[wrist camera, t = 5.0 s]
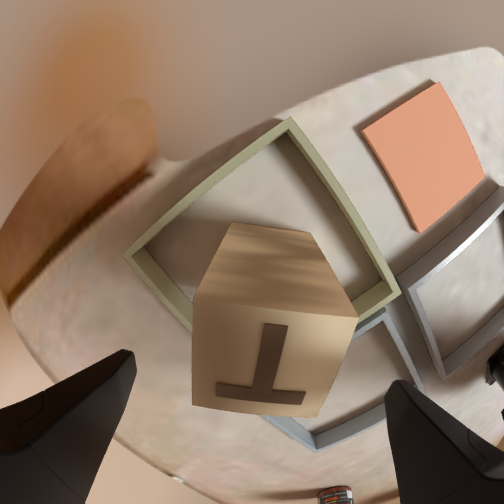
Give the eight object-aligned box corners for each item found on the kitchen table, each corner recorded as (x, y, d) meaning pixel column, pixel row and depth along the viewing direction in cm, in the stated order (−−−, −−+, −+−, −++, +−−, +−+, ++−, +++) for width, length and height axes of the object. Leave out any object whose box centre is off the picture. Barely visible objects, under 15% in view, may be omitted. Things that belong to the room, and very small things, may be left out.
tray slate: (420, 382, 21) (427, 395, 20) (312, 438, 24) (314, 452, 22) (376, 297, 18) (386, 310, 17) (237, 378, 21) (235, 395, 20)
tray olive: (390, 280, 18) (401, 293, 16) (248, 368, 21) (246, 385, 19) (287, 121, 15) (290, 116, 13) (134, 245, 18) (121, 254, 16)
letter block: (310, 233, 17) (359, 319, 8) (296, 302, 19) (316, 419, 9) (232, 221, 17) (192, 299, 8) (224, 292, 19) (191, 406, 9)
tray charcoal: (518, 292, 18) (529, 300, 16) (435, 369, 21) (443, 381, 19) (499, 185, 15) (515, 189, 13) (395, 277, 18) (407, 288, 16)
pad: (481, 176, 15) (485, 176, 14) (416, 231, 17) (420, 233, 16) (435, 82, 13) (439, 81, 13) (360, 131, 15) (362, 130, 14)
